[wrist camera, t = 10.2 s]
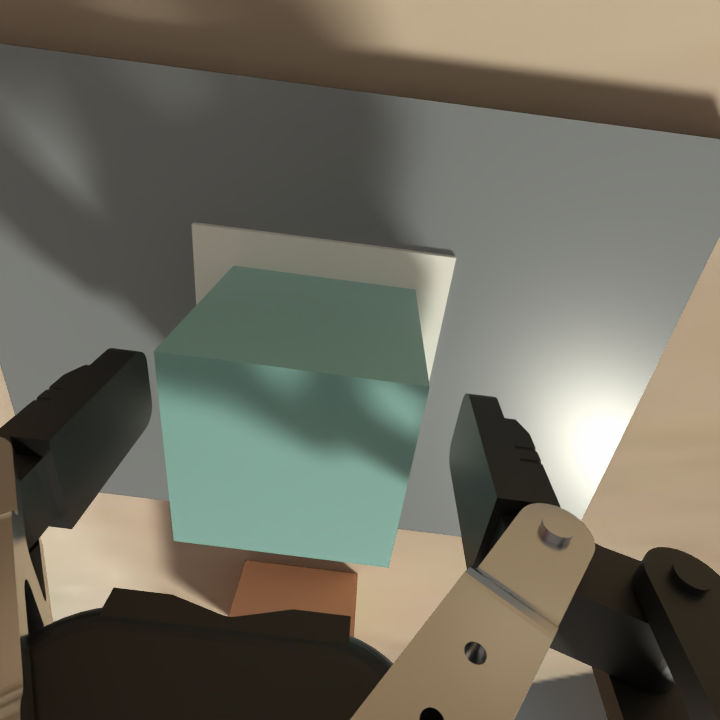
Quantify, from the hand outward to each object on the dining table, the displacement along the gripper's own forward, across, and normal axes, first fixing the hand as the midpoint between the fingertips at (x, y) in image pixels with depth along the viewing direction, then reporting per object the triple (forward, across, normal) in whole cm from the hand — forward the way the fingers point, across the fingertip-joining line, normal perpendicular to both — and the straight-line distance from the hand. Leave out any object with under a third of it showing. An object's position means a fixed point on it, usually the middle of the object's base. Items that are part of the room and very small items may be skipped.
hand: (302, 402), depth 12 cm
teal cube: (+2, 0, 0) cm, 2 cm away
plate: (+4, 0, 0) cm, 4 cm away
